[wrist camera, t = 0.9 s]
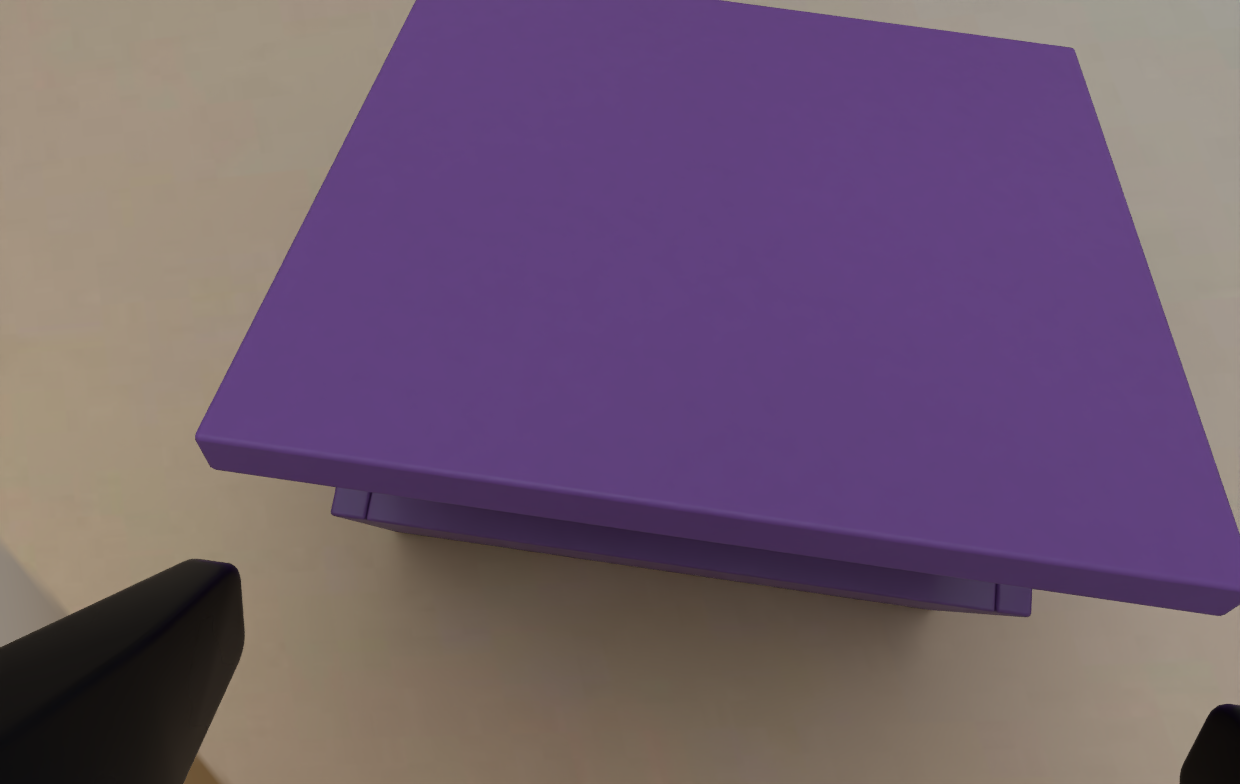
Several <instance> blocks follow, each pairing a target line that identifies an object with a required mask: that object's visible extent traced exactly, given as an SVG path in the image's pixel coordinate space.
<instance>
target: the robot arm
mask: <svg viewBox="0 0 1240 784" xmlns="http://www.w3.org/2000/svg"><path fill="white" fill-rule="evenodd" d="M244 638H245V631H244V617H243V604H242V590H241V579H240V574H239V572H238V569H237V568H236V567H235V566H233V565H232V564H230V563H224V562H217V561H210V560H203V559H189V560H187V561H184V562H182V563H180V564H177V565H175V566H173V567H171V568H169V569H167V570H165V571H163V572H160V573H158V574H156V575H154V576H152V577H150V578H148V579H145V580H143V581H141V582H139V583H137V584H135V585H133V586H130V587H128V588H126V589H124V590H122V591H120V592H118V593H116V594H113V595H111V596H109V597H107V598H105V599H103V600H101V601H98V602H96V603H94V604H92V605H90V606H88V607H86V608H83V609H81V610H79V611H77V612H75V613H73V614H71V615H69V616H66V617H64V618H62V619H60V620H58V621H56V622H54V623H51V624H49V625H47V626H45V627H43V628H41V629H39V630H37V631H34V632H32V633H30V634H28V635H26V636H24V637H22V638H20V639H17V640H15V641H13V642H11V643H9V644H7V645H5V646H2V647H0V784H183V783H184V781H185V779H186V776H187V774H188V772H189V770H190V768H191V766H192V763H193V761H194V759H195V757H196V755H197V752H198V750H199V748H200V746H201V744H202V742H203V739H204V737H205V735H206V733H207V731H208V728H209V726H210V724H211V722H212V720H213V717H214V715H215V713H216V711H217V709H218V706H219V704H220V702H221V700H222V698H223V696H224V693H225V691H226V689H227V687H228V685H229V682H230V680H231V678H232V676H233V674H234V671H235V669H236V667H237V665H238V663H239V660H240V657H241V654H242V651H243V646H244ZM1180 784H1240V705H1233V704H1223V705H1219V706H1217V707H1216V708H1215V709H1213V710H1212V711H1211V712H1210V714H1209V715H1208V717H1207V719H1206V721H1205V723H1204V725H1203V727H1202V729H1201V730H1200V732H1199V734H1198V736H1197V738H1196V740H1195V742H1194V744H1193V746H1192V748H1191V750H1190V752H1189V754H1188V756H1187V757H1186V759H1185V761H1184V763H1183V766H1182V768H1181V773H1180Z"/></svg>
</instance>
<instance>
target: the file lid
mask: <svg viewBox="0 0 1240 784" xmlns="http://www.w3.org/2000/svg"><path fill="white" fill-rule="evenodd" d="M195 440H196V442H197V444H198V445H199V447H200V449H201V451H202V453H203V454H204V456H205V458H206V460H207V462H208V463H209V465H210V467H212V468H213V469H216V470H222V471H229V472H236V473H243V474H250V475H256V476H263V477H270V478H277V479H284V480H291V481H298V482H304V483H311V484H318V485H325V486H332V487H339V488H346V489H352V490H359V491H366V492H373V493H380V494H387V495H394V496H400V497H407V498H414V499H421V500H428V501H435V502H442V503H448V504H455V505H462V506H469V507H476V508H483V509H489V510H496V511H503V512H510V513H517V514H524V515H531V516H537V517H544V518H551V519H558V520H565V521H572V522H579V523H585V524H592V525H599V526H606V527H613V528H620V529H627V530H633V531H640V532H647V533H654V534H661V535H668V536H675V537H681V538H688V539H695V540H702V541H709V542H716V543H722V544H729V545H736V546H743V547H750V548H757V549H764V550H770V551H777V552H784V553H791V554H798V555H805V556H812V557H818V558H825V559H832V560H839V561H846V562H853V563H860V564H866V565H873V566H880V567H887V568H894V569H901V570H908V571H914V572H921V573H928V574H935V575H942V576H949V577H956V578H962V579H969V580H976V581H983V582H990V583H997V584H1003V585H1010V586H1017V587H1024V588H1031V589H1038V590H1045V591H1051V592H1058V593H1065V594H1072V595H1079V596H1086V597H1093V598H1099V599H1106V600H1113V601H1120V602H1127V603H1134V604H1141V605H1147V606H1154V607H1161V608H1168V609H1175V610H1182V611H1189V612H1195V613H1202V614H1209V615H1216V616H1221V615H1225V614H1226V613H1228V612H1229V611H1231V610H1232V609H1234V608H1235V607H1237V606H1238V605H1240V534H1239V531H1238V528H1237V525H1236V522H1235V519H1234V516H1233V513H1232V510H1231V508H1230V505H1229V502H1228V499H1227V496H1226V493H1225V490H1224V487H1223V484H1222V481H1221V478H1220V475H1219V472H1218V469H1217V466H1216V464H1215V461H1214V458H1213V455H1212V452H1211V449H1210V446H1209V443H1208V440H1207V437H1206V434H1205V431H1204V428H1203V425H1202V422H1201V420H1200V417H1199V414H1198V411H1197V408H1196V405H1195V402H1194V399H1193V396H1192V393H1191V390H1190V387H1189V384H1188V381H1187V378H1186V376H1185V373H1184V370H1183V367H1182V364H1181V361H1180V358H1179V355H1178V352H1177V349H1176V346H1175V343H1174V340H1173V337H1172V334H1171V332H1170V329H1169V326H1168V323H1167V320H1166V317H1165V314H1164V311H1163V308H1162V305H1161V302H1160V299H1159V296H1158V293H1157V290H1156V288H1155V285H1154V282H1153V279H1152V276H1151V273H1150V270H1149V267H1148V264H1147V261H1146V258H1145V255H1144V252H1143V249H1142V246H1141V244H1140V241H1139V238H1138V235H1137V232H1136V229H1135V226H1134V223H1133V220H1132V217H1131V214H1130V211H1129V208H1128V205H1127V202H1126V200H1125V197H1124V194H1123V191H1122V188H1121V185H1120V182H1119V179H1118V176H1117V173H1116V170H1115V167H1114V164H1113V161H1112V158H1111V156H1110V153H1109V150H1108V147H1107V144H1106V141H1105V138H1104V135H1103V132H1102V129H1101V126H1100V123H1099V120H1098V117H1097V114H1096V112H1095V109H1094V106H1093V103H1092V100H1091V97H1090V94H1089V91H1088V88H1087V85H1086V82H1085V79H1084V76H1083V73H1082V70H1081V68H1080V65H1079V62H1078V59H1077V56H1076V53H1075V50H1074V49H1073V48H1069V47H1062V46H1055V45H1047V44H1040V43H1032V42H1025V41H1018V40H1010V39H1003V38H995V37H988V36H981V35H973V34H966V33H958V32H951V31H943V30H936V29H929V28H921V27H914V26H906V25H899V24H892V23H884V22H877V21H869V20H862V19H855V18H847V17H840V16H832V15H825V14H817V13H810V12H803V11H795V10H788V9H780V8H773V7H766V6H758V5H751V4H743V3H736V2H729V1H721V0H416V1H415V3H414V5H413V7H412V9H411V11H410V13H409V15H408V17H407V19H406V21H405V23H404V25H403V27H402V29H401V31H400V33H399V35H398V37H397V39H396V41H395V43H394V45H393V46H392V48H391V50H390V52H389V54H388V56H387V58H386V60H385V62H384V64H383V66H382V68H381V70H380V72H379V74H378V76H377V78H376V80H375V82H374V84H373V86H372V88H371V90H370V92H369V94H368V96H367V98H366V100H365V102H364V104H363V105H362V107H361V109H360V111H359V113H358V115H357V117H356V119H355V121H354V123H353V125H352V127H351V129H350V131H349V133H348V135H347V137H346V139H345V141H344V143H343V145H342V147H341V149H340V151H339V153H338V155H337V157H336V159H335V161H334V163H333V165H332V166H331V168H330V170H329V172H328V174H327V176H326V178H325V180H324V182H323V184H322V186H321V188H320V190H319V192H318V194H317V196H316V198H315V200H314V202H313V204H312V206H311V208H310V210H309V212H308V214H307V216H306V218H305V220H304V222H303V224H302V225H301V227H300V229H299V231H298V233H297V235H296V237H295V239H294V241H293V243H292V245H291V247H290V249H289V251H288V253H287V255H286V257H285V259H284V261H283V263H282V265H281V267H280V269H279V271H278V273H277V275H276V277H275V279H274V281H273V283H272V284H271V286H270V288H269V290H268V292H267V294H266V296H265V298H264V300H263V302H262V304H261V306H260V308H259V310H258V312H257V314H256V316H255V318H254V320H253V322H252V324H251V326H250V328H249V330H248V332H247V334H246V336H245V338H244V340H243V342H242V343H241V345H240V347H239V349H238V351H237V353H236V355H235V357H234V359H233V361H232V363H231V365H230V367H229V369H228V371H227V373H226V375H225V377H224V379H223V381H222V383H221V385H220V387H219V389H218V391H217V393H216V395H215V397H214V399H213V401H212V402H211V404H210V406H209V408H208V410H207V412H206V414H205V416H204V418H203V420H202V422H201V424H200V426H199V428H198V430H197V432H196V435H195Z"/></svg>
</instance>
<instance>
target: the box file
mask: <svg viewBox="0 0 1240 784" xmlns="http://www.w3.org/2000/svg"><path fill="white" fill-rule="evenodd" d="M331 514H332V515H333V516H337V517H341V518H345V519H349V520H352V521H356V522H360V523H364V524H368V525H372V526H376V527H380V528H384V529H388V530H392V531H396V532H403V533H410V534H416V535H423V536H430V537H437V538H444V539H451V540H457V541H464V542H471V543H478V544H485V545H491V546H498V547H505V548H512V549H519V550H526V551H532V552H539V553H546V554H553V555H560V556H566V557H573V558H580V559H587V560H594V561H601V562H607V563H614V564H621V565H628V566H635V567H641V568H648V569H655V570H662V571H669V572H676V573H682V574H689V575H696V576H703V577H710V578H716V579H723V580H730V581H737V582H744V583H751V584H757V585H764V586H771V587H778V588H785V589H791V590H798V591H805V592H812V593H819V594H826V595H832V596H839V597H846V598H853V599H860V600H867V601H873V602H880V603H887V604H894V605H901V606H907V607H914V608H921V609H928V610H937V611H952V612H965V613H978V614H991V615H1004V616H1017V617H1029V616H1030V615H1031V603H1032V589H1031V588H1024V587H1017V586H1010V585H1003V584H997V583H990V582H983V581H976V580H969V579H962V578H956V577H949V576H942V575H935V574H928V573H921V572H914V571H908V570H901V569H894V568H887V567H880V566H873V565H866V564H860V563H853V562H846V561H839V560H832V559H825V558H818V557H812V556H805V555H798V554H791V553H784V552H777V551H770V550H764V549H757V548H750V547H743V546H736V545H729V544H722V543H716V542H709V541H702V540H695V539H688V538H681V537H675V536H668V535H661V534H654V533H647V532H640V531H633V530H627V529H620V528H613V527H606V526H599V525H592V524H585V523H579V522H572V521H565V520H558V519H551V518H544V517H537V516H531V515H524V514H517V513H510V512H503V511H496V510H489V509H483V508H476V507H469V506H462V505H455V504H448V503H442V502H435V501H428V500H421V499H414V498H407V497H400V496H394V495H387V494H380V493H373V492H366V491H359V490H352V489H346V488H339V487H336V490H335V495H334V499H333V504H332V509H331Z"/></svg>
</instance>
